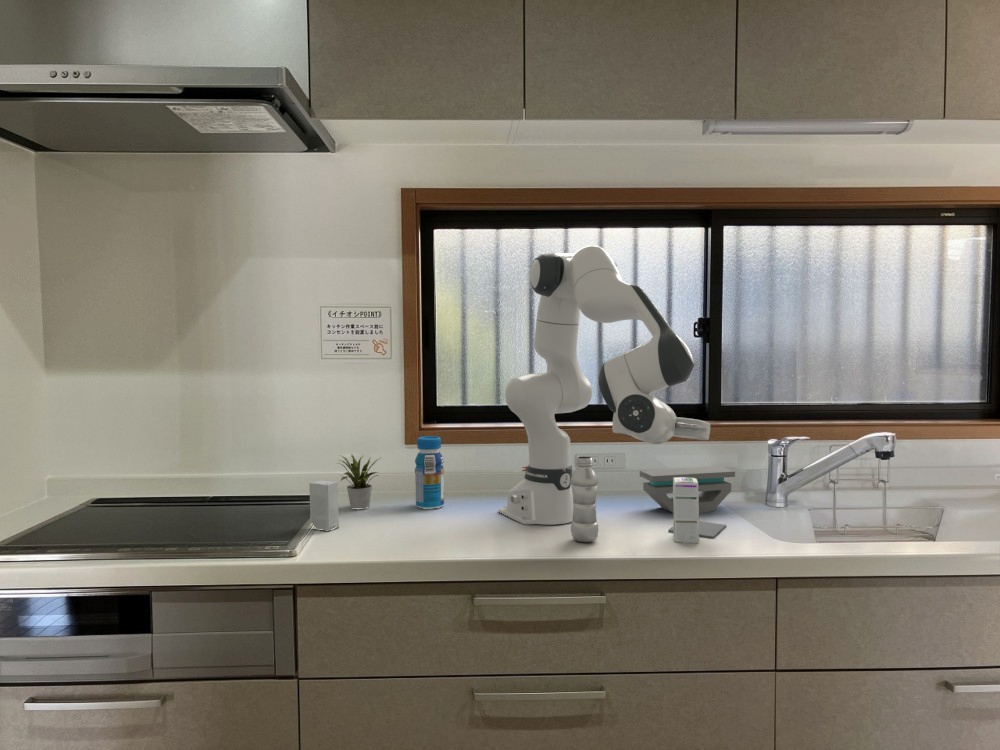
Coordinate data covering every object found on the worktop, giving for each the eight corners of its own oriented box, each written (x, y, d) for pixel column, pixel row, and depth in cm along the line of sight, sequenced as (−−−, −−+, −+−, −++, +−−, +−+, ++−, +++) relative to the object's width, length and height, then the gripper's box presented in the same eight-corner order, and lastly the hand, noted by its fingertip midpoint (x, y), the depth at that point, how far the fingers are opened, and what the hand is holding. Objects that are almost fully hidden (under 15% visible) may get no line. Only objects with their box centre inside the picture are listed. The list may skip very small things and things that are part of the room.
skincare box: (339, 527, 172) (338, 481, 171) (328, 532, 168) (327, 485, 167) (320, 525, 174) (319, 479, 174) (309, 529, 171) (308, 482, 170)
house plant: (319, 511, 189) (318, 453, 188) (348, 500, 201) (347, 446, 200) (362, 516, 183) (361, 456, 182) (389, 504, 196) (388, 449, 195)
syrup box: (699, 543, 156) (700, 482, 156) (673, 542, 158) (673, 481, 157) (697, 536, 162) (697, 477, 161) (672, 535, 163) (672, 476, 162)
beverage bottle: (409, 507, 192) (408, 438, 191) (427, 501, 199) (426, 434, 198) (432, 511, 187) (431, 440, 186) (450, 505, 194) (449, 436, 193)
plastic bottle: (581, 546, 155) (581, 461, 154) (565, 539, 161) (565, 456, 160) (604, 542, 158) (604, 458, 156) (587, 535, 164) (587, 454, 162)
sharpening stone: (652, 516, 181) (652, 476, 181) (639, 508, 189) (639, 470, 188) (734, 510, 187) (735, 471, 186) (719, 503, 195) (719, 466, 194)
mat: (713, 538, 160) (713, 536, 160) (668, 531, 166) (668, 529, 166) (726, 526, 170) (726, 524, 170) (683, 520, 176) (683, 518, 176)
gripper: (707, 412, 134) (716, 420, 146) (608, 401, 143) (625, 410, 155) (704, 444, 133) (713, 449, 145) (605, 431, 142) (621, 437, 154)
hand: (667, 428), depth 150 cm, fingers closed
